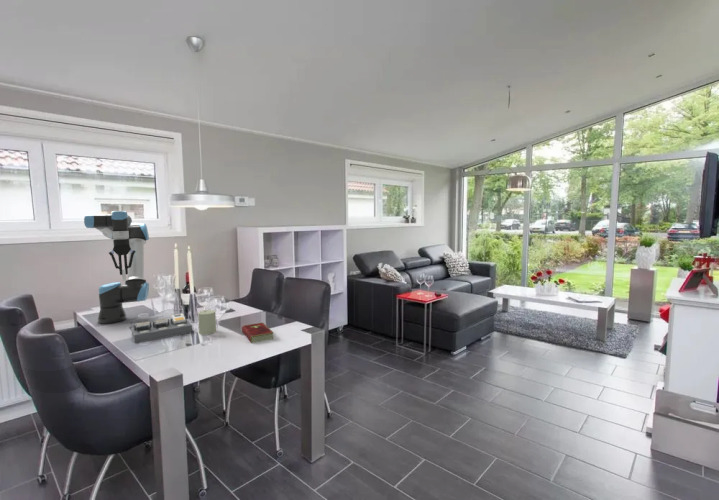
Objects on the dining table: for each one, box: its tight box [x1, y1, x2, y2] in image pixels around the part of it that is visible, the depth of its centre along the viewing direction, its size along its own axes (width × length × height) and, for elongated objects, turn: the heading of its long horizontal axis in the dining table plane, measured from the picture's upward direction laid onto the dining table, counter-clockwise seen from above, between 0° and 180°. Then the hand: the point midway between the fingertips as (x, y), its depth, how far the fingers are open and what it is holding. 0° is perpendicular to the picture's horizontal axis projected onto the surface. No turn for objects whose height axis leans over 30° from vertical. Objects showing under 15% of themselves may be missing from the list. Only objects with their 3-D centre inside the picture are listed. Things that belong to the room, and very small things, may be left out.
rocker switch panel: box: [130, 315, 193, 344], centre depth 207 cm, size 16×28×7 cm, turn 126°
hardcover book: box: [241, 322, 274, 344], centre depth 203 cm, size 12×21×4 cm, turn 30°
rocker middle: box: [153, 318, 169, 324], centre depth 209 cm, size 8×6×2 cm
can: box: [197, 309, 217, 336], centre depth 209 cm, size 9×9×12 cm
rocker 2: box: [170, 313, 187, 324], centre depth 214 cm, size 8×6×2 cm
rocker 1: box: [135, 321, 151, 327], centre depth 203 cm, size 8×6×2 cm
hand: (124, 280), depth 209 cm, fingers closed
